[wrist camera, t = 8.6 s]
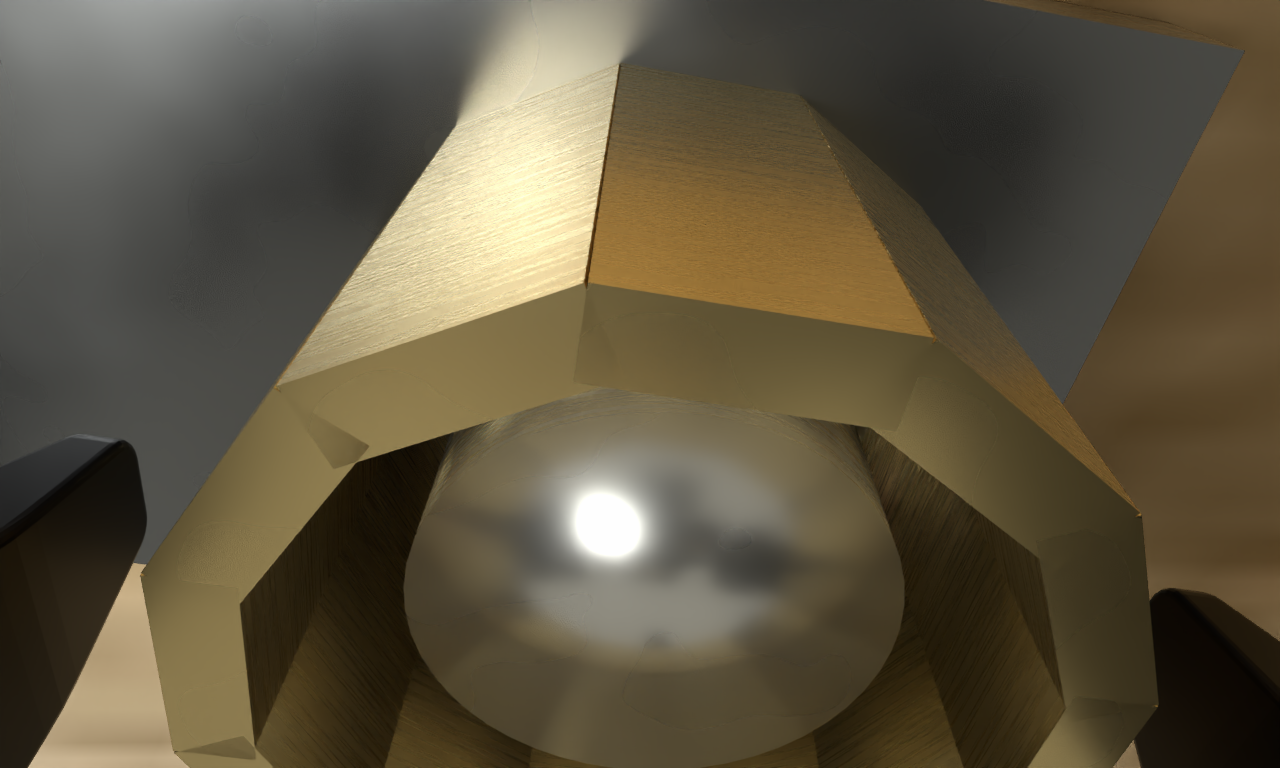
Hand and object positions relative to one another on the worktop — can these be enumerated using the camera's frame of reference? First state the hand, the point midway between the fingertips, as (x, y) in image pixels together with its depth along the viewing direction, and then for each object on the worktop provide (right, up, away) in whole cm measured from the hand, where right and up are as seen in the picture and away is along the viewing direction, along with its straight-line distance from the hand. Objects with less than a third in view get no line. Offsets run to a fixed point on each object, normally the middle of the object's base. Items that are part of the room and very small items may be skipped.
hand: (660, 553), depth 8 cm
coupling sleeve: (0, +2, +3) cm, 3 cm away
